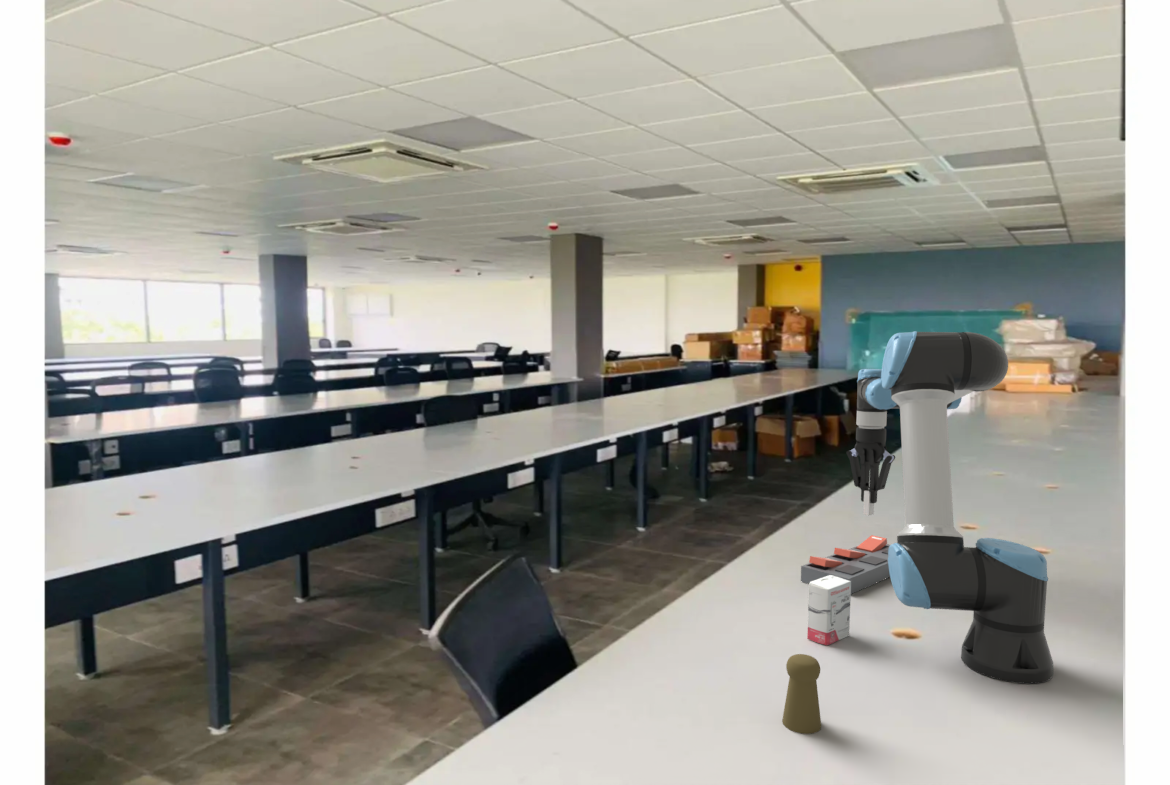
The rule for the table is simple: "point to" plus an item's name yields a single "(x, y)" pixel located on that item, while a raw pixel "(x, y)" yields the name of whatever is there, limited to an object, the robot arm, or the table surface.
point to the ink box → (828, 609)
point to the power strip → (852, 569)
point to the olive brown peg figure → (802, 695)
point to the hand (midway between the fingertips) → (868, 514)
